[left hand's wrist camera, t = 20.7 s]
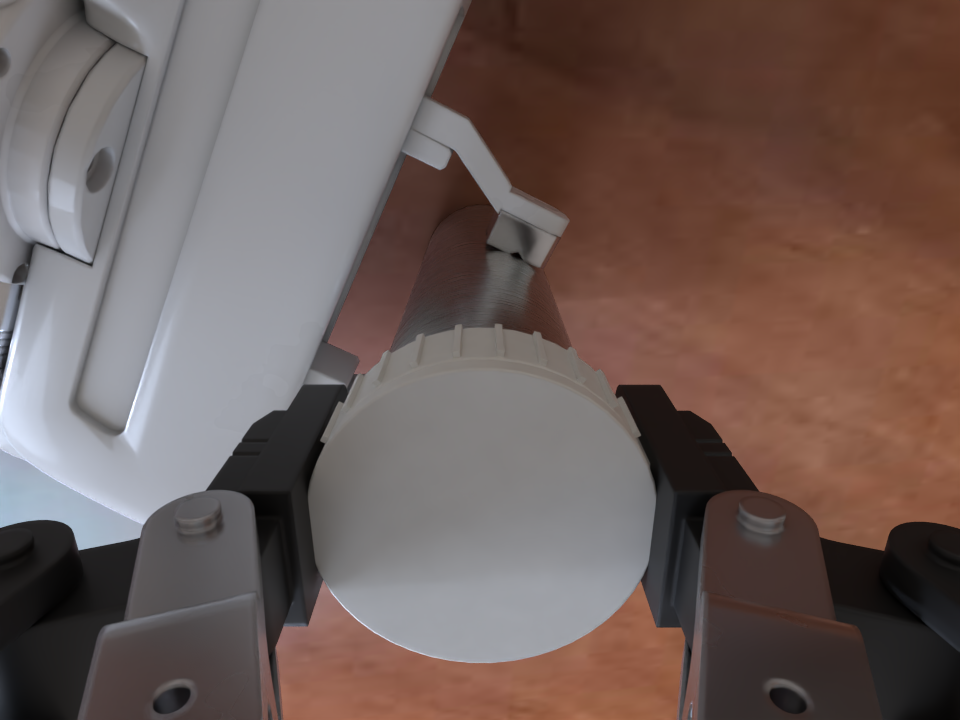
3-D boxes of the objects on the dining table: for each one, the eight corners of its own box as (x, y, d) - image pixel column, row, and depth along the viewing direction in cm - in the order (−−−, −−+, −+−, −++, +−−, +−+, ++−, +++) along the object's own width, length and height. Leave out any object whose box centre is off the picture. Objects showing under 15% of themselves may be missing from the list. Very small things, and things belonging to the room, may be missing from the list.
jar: (428, 201, 24) (341, 368, 9) (540, 207, 24) (639, 384, 9) (425, 308, 25) (346, 603, 11) (530, 314, 26) (600, 615, 11)
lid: (699, 481, 11) (736, 545, 9) (468, 637, 12) (466, 716, 10) (499, 251, 9) (503, 281, 8) (260, 455, 11) (223, 517, 9)
